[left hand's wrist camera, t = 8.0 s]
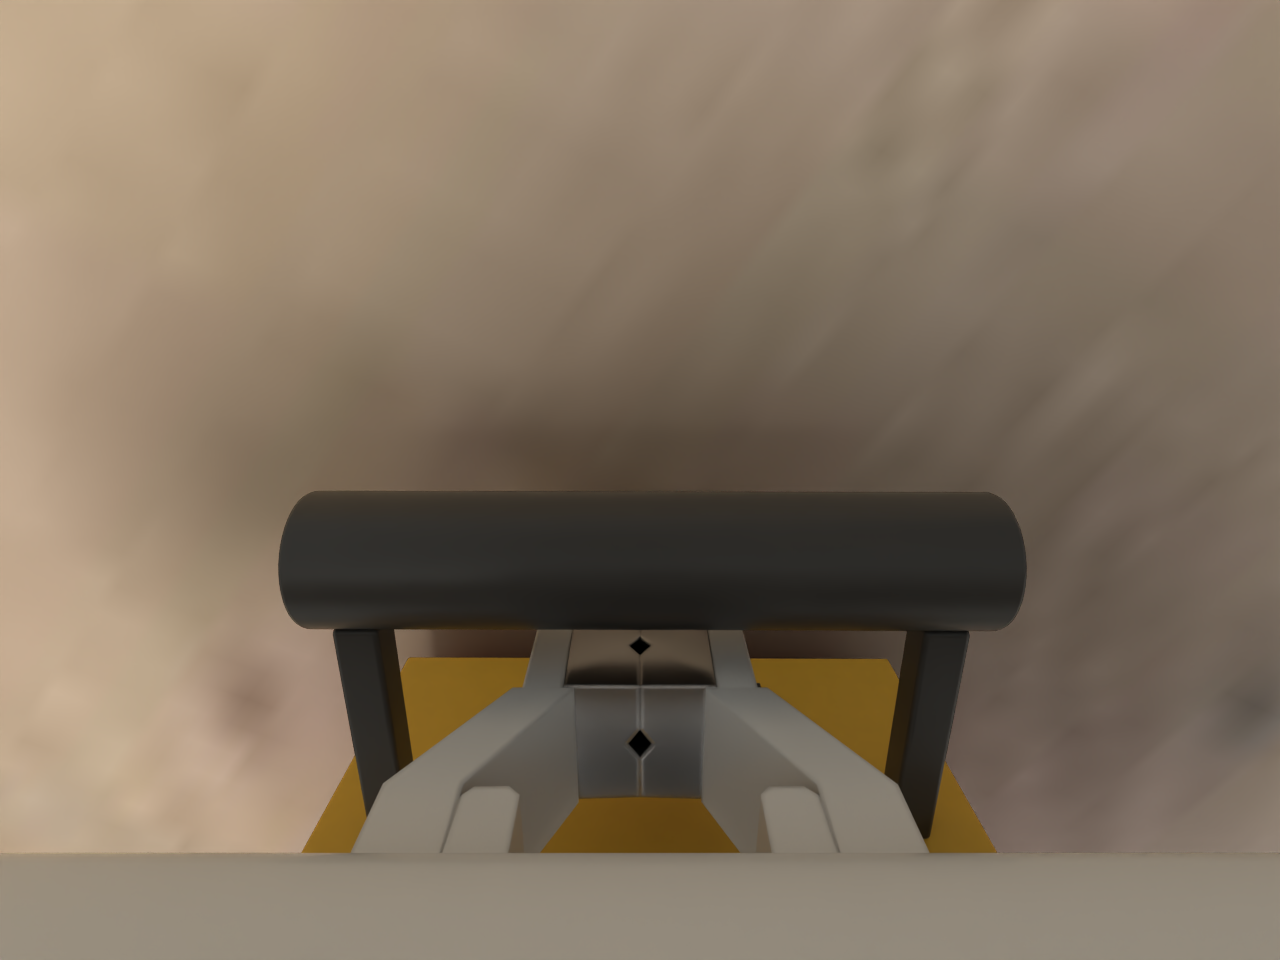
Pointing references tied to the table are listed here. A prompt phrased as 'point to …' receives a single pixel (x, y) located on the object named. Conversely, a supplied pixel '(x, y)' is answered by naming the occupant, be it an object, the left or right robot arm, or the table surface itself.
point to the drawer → (655, 621)
